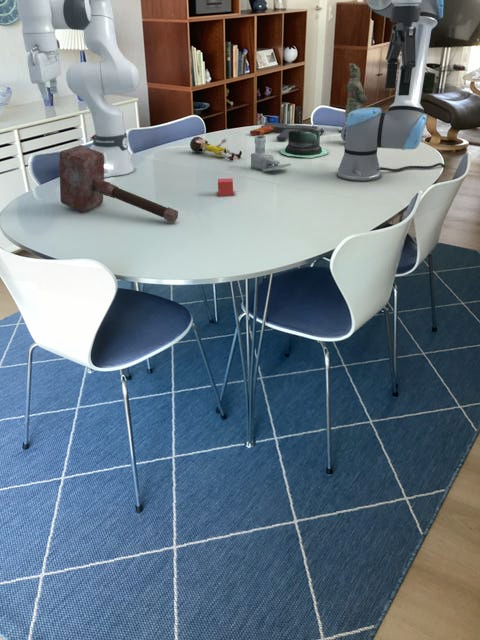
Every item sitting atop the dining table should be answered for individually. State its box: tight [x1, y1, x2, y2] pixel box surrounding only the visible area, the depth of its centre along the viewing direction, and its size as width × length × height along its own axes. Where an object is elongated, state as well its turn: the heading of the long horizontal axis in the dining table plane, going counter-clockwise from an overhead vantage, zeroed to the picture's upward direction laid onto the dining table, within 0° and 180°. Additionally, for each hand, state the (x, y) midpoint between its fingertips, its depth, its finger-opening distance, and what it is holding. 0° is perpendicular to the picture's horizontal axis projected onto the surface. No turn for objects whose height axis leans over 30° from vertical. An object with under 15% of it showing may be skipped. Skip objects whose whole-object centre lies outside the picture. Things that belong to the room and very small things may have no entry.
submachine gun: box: [249, 122, 325, 141], centre depth 263 cm, size 32×3×25 cm
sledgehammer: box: [59, 144, 179, 223], centre depth 170 cm, size 17×10×40 cm
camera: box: [250, 134, 292, 173], centre depth 210 cm, size 9×12×15 cm
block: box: [217, 177, 234, 197], centre depth 188 cm, size 4×5×5 cm
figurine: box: [189, 136, 243, 162], centre depth 232 cm, size 13×8×25 cm
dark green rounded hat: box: [279, 128, 328, 159], centre depth 234 cm, size 15×19×20 cm
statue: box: [344, 62, 368, 123], centre depth 262 cm, size 11×9×30 cm
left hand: (50, 95), depth 165 cm, fingers open, 8 cm apart
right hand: (396, 91), depth 157 cm, fingers open, 13 cm apart
